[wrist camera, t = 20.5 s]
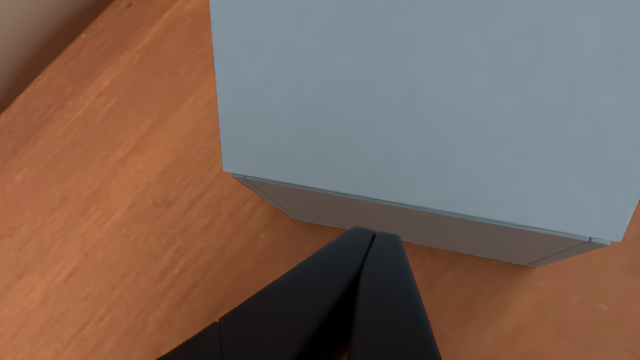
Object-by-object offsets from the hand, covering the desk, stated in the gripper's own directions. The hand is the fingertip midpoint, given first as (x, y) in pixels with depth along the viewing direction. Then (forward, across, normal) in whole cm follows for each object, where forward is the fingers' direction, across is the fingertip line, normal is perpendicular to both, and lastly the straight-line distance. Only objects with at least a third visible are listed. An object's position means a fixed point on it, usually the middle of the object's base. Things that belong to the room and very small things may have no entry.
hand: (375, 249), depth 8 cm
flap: (+4, 0, -1) cm, 5 cm away
